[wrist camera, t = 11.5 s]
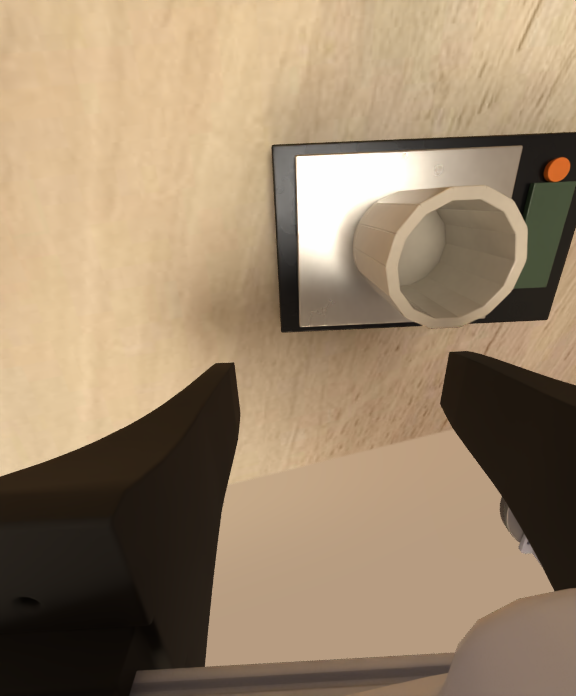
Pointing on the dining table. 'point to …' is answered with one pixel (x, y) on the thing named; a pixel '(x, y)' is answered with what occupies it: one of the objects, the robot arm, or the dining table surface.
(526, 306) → the scale
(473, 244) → the pot
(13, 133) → the dining table surface
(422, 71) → the dining table surface
